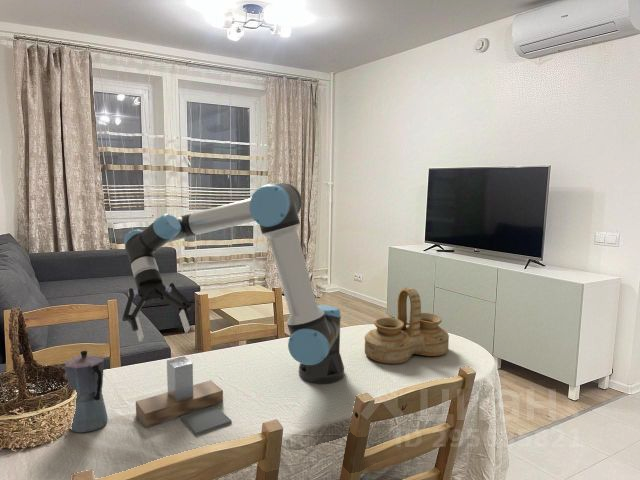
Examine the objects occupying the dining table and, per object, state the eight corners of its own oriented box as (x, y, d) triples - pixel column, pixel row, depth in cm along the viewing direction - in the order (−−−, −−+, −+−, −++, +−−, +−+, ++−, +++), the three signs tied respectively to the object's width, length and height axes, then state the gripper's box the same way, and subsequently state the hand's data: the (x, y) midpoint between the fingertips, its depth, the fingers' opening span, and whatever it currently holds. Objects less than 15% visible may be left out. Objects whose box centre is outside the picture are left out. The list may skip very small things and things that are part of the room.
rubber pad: (215, 407, 132) (215, 405, 132) (231, 423, 124) (231, 420, 124) (180, 418, 126) (180, 416, 126) (196, 435, 118) (196, 432, 118)
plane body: (211, 392, 141) (210, 380, 140) (223, 403, 135) (222, 390, 134) (136, 415, 127) (135, 401, 127) (145, 428, 121) (145, 413, 121)
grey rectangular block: (167, 394, 131) (166, 360, 130) (184, 389, 134) (184, 356, 133) (175, 402, 127) (174, 367, 125) (193, 397, 130) (192, 363, 128)
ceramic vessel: (382, 370, 159) (385, 300, 156) (355, 351, 176) (357, 287, 172) (459, 355, 174) (463, 290, 170) (427, 338, 190) (430, 279, 187)
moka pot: (92, 408, 130) (89, 340, 127) (124, 426, 122) (120, 353, 119) (57, 422, 123) (52, 350, 120) (88, 443, 114) (83, 366, 111)
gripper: (182, 276, 156) (201, 332, 146) (102, 286, 140) (118, 349, 131) (188, 263, 151) (209, 321, 141) (106, 272, 135) (123, 337, 126)
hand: (165, 335), depth 136 cm, fingers open, 13 cm apart
